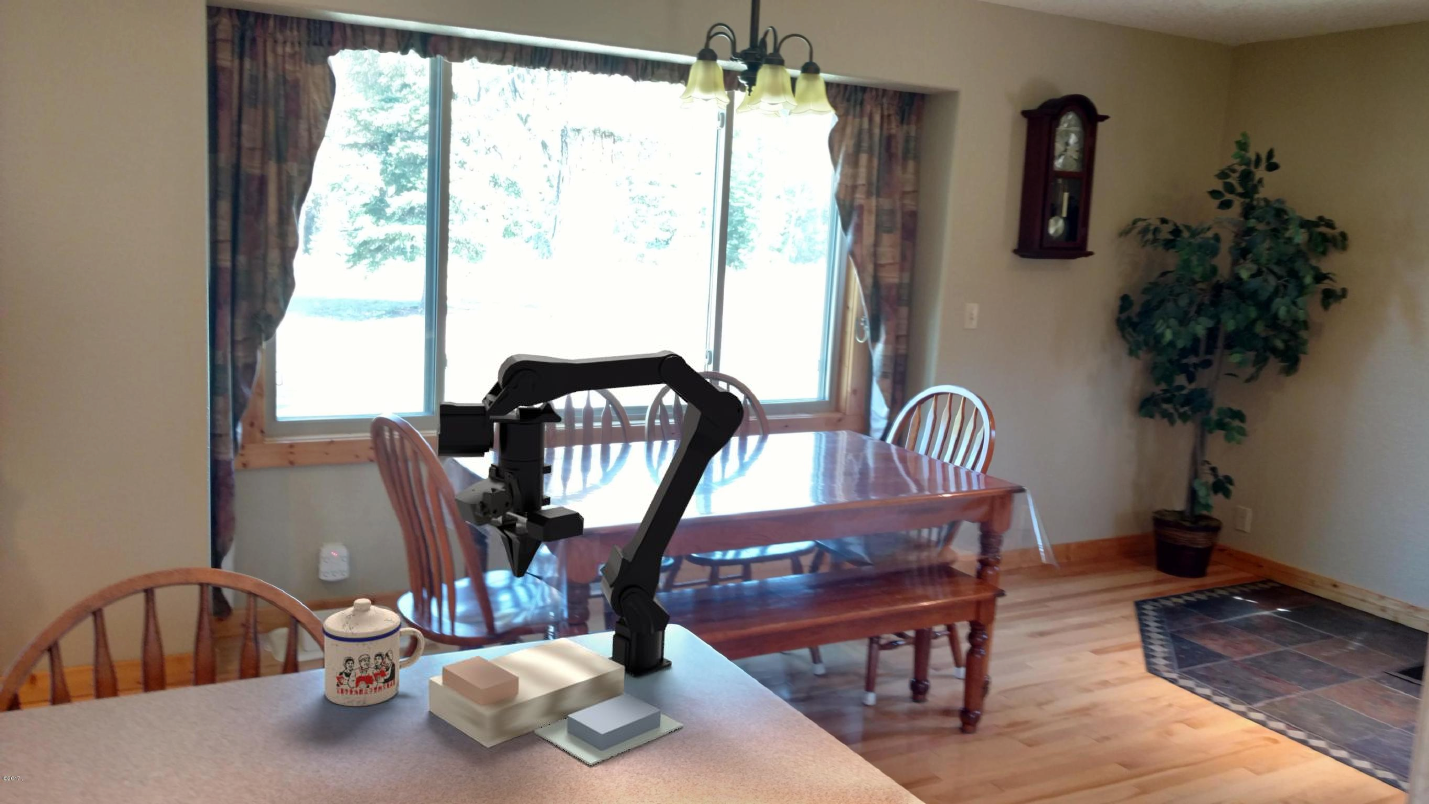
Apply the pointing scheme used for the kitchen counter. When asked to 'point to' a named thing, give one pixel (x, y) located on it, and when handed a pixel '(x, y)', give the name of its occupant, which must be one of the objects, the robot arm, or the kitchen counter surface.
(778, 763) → the kitchen counter surface
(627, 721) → the grey-blue rectangular block
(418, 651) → the teacup with lid
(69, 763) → the kitchen counter surface
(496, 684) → the terracotta tile
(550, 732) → the mat
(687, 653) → the kitchen counter surface
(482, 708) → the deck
